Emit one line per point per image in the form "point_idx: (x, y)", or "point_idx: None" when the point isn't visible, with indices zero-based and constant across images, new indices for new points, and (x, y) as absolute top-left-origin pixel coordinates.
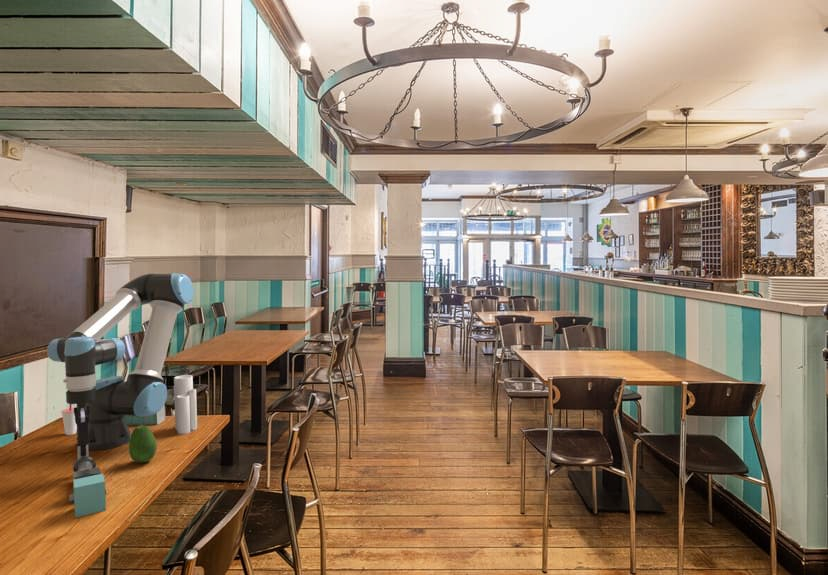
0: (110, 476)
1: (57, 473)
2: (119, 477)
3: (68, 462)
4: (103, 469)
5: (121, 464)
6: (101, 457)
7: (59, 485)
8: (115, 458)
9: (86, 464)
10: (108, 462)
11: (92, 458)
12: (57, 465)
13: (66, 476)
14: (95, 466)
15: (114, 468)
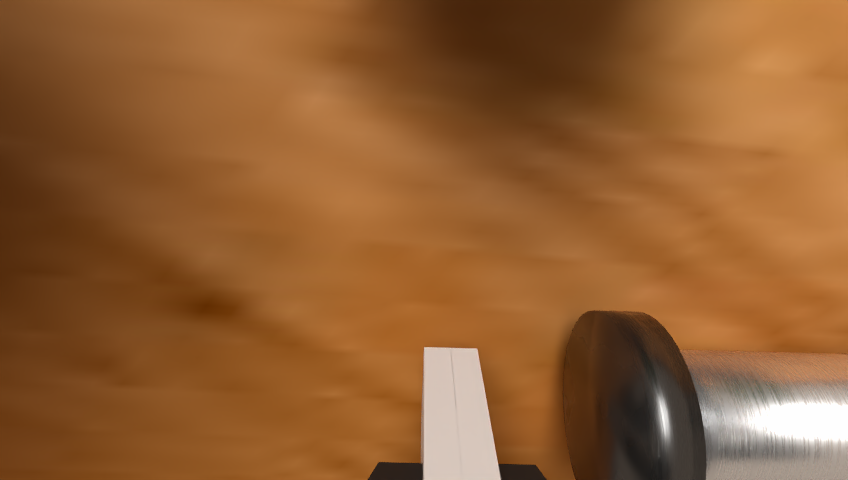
0: (682, 155)
1: (295, 472)
2: (786, 83)
3: (58, 406)
4: (430, 189)
5: (392, 4)
6: (29, 166)
7: (567, 471)
8: (133, 36)
9: (818, 465)
10: (238, 122)
11: (667, 405)
12: (100, 466)
13: (406, 432)
14: (655, 321)
15: (475, 92)
